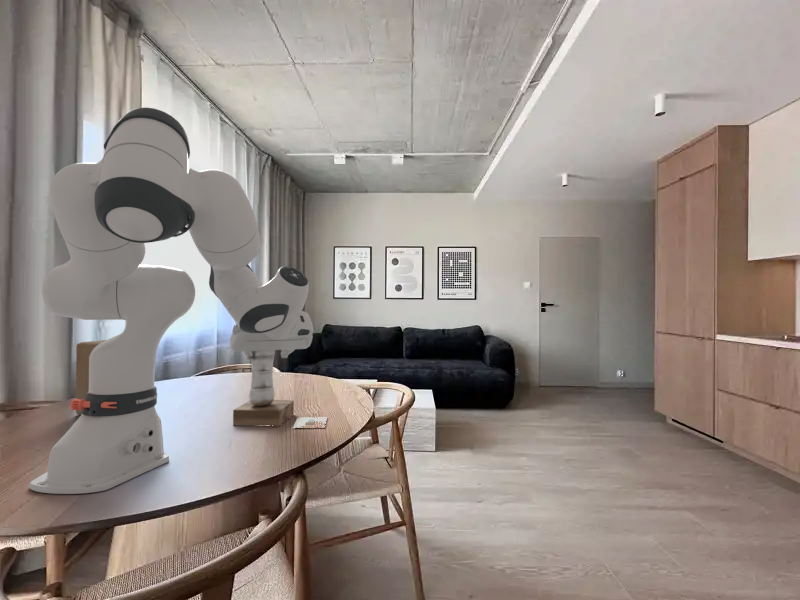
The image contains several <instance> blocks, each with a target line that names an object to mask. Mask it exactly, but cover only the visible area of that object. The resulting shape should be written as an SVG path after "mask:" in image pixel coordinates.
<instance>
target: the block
mask: <svg viewBox="0 0 800 600" xmlns="http://www.w3.org/2000/svg"><path fill="white" fill-rule="evenodd" d="M106 340H107V339H104V340H93V341H92V340H91V341H82V342H79V343H77V344H76V347H75V348H76V350H75V351H76V354H75V356H76V359H75V361H76V362H75V365H76V366H75V399H79V400H82V399H85V396H86V393H87V392H88V391H89V357H90V354H91V352H92V350H93V349H94V348H95V347H96V346H97V345H99V344H100V343H102V342H104V341H106ZM75 414H77V416H81V415H82V413H81V410H75Z"/></svg>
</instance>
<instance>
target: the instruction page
mask: <svg viewBox="0 0 800 600" xmlns="http://www.w3.org/2000/svg"><path fill="white" fill-rule="evenodd" d="M312 417H313V418H312ZM312 417H311V416H305V417H299V416H298V417H296V420H295V422H294V424H293V427H292V429H293V428H296V427H297V428H300V427H301V426H306V425H307V426H308V425H315V422H316V421H318V423H319V422H320V421H321V422H323V424H324V423H325V424H326V425H327V422H326V421H327V420H328V417H327V416H312ZM314 417H315V418H314ZM317 417H318V419H317ZM312 421H313V422H312ZM314 421H315V422H314ZM321 422H320V423H321ZM320 425H321V424H320ZM326 425H325V426H326ZM323 426H324V425H323ZM323 426H322V427H323ZM325 426H324V427H325ZM301 428H302V427H301ZM325 428H326V427H325Z"/></svg>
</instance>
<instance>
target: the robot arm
mask: <svg viewBox="0 0 800 600" xmlns="http://www.w3.org/2000/svg"><path fill="white" fill-rule="evenodd" d="M190 148H191V147H190V142H189V138H188V134H187V133H186V131H185V129H184V127H183V126H182V125H181V123H180V122H179V121H178V120H177V119H176V118H175V117H174V116H172V115H170V114H169V113H167V112H166V111H163V110H161V109H157V108H154V107H137V108H134V109H131V110H130V111H128V112H126V113H125V114H124V115H123V116H122V117H121V118H120V119H119V120H118V121H117V122H116V124H115V125H114V127H112V129H111V132H110V133H109V136H108V137H107V139H106V140H105V142H104V144H103V149H104V155H103V157H102V158H101V160H99V161H97V162H77V163H76V162H75V163H71V164H69V165H66V166H63V167H62V168H61V169H60V170H58V171H57V173H55V174H54V176H53V178H52V179H51V183H50V196H51V197H50V198H51V203H52V204H51V205H52V210H53V213H54V217H55V220H56V224H57V226H58V229H59V231H60V234H61V235H62V238H63V240H64V242H65V246H66V248H67V251H68V254H69V257H70V258H69V260H68V261H67V262H65V263H63V264H61V265H57V266H55V267H53V269H51V270H50V272H48V274H47V275H46V276H45V277H44V278H45V279H44V281H43V282H42V287H41V294H42V295H41V296H42V299H43V302H44V304H45V305H46V307H47V308H48V309H49V310H50V312H51V313H53V314H54V315H56V316H57V317H59V316H60V317H66V318H71V319H76V320H85V321H87V320H89V321H90V320H91V321H95V320H99V321H100V320H101V321H102V320H105V321H107V320H108V321H109V320H111V321H112V320H116V321H117V320H118V321H119V320H122V321H125V328H124V330H123V331H122V332H121V333H119V334H117V335H115V336H113V337H112V336H111V338H108V339H105V340H106V341H104V342H102V343H100V344H99V345H97V346H96V347H95V348H94V349H93V350H92V352H91V354H90V357H89V391H88V392H87V393H86V396H85V399H82V400H79V399H76V398H73V399H72V400H71V402H69V409H70V410H71V411H76V410H81V413H82V415H79V417H78V419H76V421H75V422H74V423H73V424H72V426H70V427H69V429H68V430H67V431H66V433H64V434H63V436H62V437H60V439H59V440H58V441H57V442H56V443H55V445H53V447H52V448H51V450H50V452H49V457H48V463H47V471H46V472H44V473H43V474H41V475H39V476H38V477H36V478H34V479H33V480H31V481H30V482H29V486H28V488H29V489H30V490H31V491H33V492H37V493H44V494H45V493H46V494H55V495H57V494H58V495H76V494H80V495H81V494H90V493H98V492H104V491H107V490H110V489H112V488H115V487H116V486H119V485H121V484H123V483H124V482H127V481H129V480H132V479H133V478H135V477H138V476H141V475H143V474H145V473H147V472H148V471H152V470H153V469H155V468H157V467H160V466H161V465H164V464H166V463H168V462H170V457H169V454H167V453H165V450H164V449H165V448H164V436H163V426H162V420H161V417H160V416H159V414H158V413H157V410H156V407H155V406H156V405H157V404H158V402H157V401H158V400H157V399H158V391H157V390H158V389H157V387H156V386H155V375H156V374H155V370H156V362H157V361H156V359H157V352H158V347H159V344H160V342H161V340H162V338H163V337H164V335H165V333H166V331H168V329H169V328H170V327H171V326H172V325H173V324H174V323H175V322H176V321H178V320H179V319H180V318H181V317H183V316H184V315H185V314H187V313H188V311H190V309H191V308H192V306H193V304H194V302H195V298H196V289H195V288H196V287H195V285H194V284H195V283H194V281H193V280H192V278H191V276H190V275H189V274H188V273H187V272H186V271H185V270H183V269H179V268H175V267H171V266H165V265H160V264H159V265H158V264H157V265H156V264H153V265H151V264H142V262H143V261H144V258H145V257H146V256H145V254H146V245H145V244H148V243H155V242H160V241H161V242H162V241H165V240H169V239H170V238H177V237H180V236H181V235H184V234H185V233H186V232H189V234H190V236H191V239H192V241H193V242H194V245H195V248H197V251H198V252H199V254H200V255H201V257H202V258H203V259H204V260H205V261H206V262H207V263H208V265H209V266H210V273H209V274H210V275H209V279H208V280H209V281H208V284H209V288H210V291H211V292H212V293H213V294H214V295H215V297H217V299H218V300H219V301H220V303H221V304H222V305H223V307H224V308H225V310H226V311H227V312H228V314H229V315H230V317H231V318H232V319H233V321H234V322H235V324H234V325H233V327H232V333H231V335H230V338H229V345H230V349H231V350H232V351H233V352H234V353H236V352H239V353H240V352H243V353H244V357H245V360H246V361H249V360H251V359H252V357H253V354H252V351H264V350H275V351H281V352H280V357H281V359H287V358H289V357H288V356H289V355H290V354H292V353H293V352H294V351H295V350H304V349H305V350H306V349H308V348H309V347H311V344H312V342H313V337H314V336H313V333H314V325H313V322H312V319H311V316H310V315H309V313H308V312H306V311H303V309H304V307H305V304H306V301H307V298H308V294H309V289H310V283H309V282H310V281H309V279H308V278H307V276H306V275H304V273H303V272H302V271H301V270H300V269H297V268H295V267H292V266H281V267H280V268H278V270H277V271H276V273H275V275H274V277H273V278H272V279H270V280H269V281H268V282H267V283H265V284H263V283H262V281H260V279H259V278H258V277H257V275H256V274H255V273H254V271H253V269H252V268H251V267H250V265H249V264H251V262H252V261H254V259H255V258H256V257H257V256H258V254H259V252H260V249H261V235H260V230H259V226H258V223H257V219H256V216H255V213H254V209H253V208H252V207H253V206H252V205H251V202H250V200H249V198H248V195H247V194H246V192H245V190H244V189H243V187H242V185H241V184H240V182H239V181H238V180H237V179H236V178H235V176H233V175H232V174H230V173H229V172H226V171H224V170H220V169H205V170H200V171H197V170H195V169H192V168H191V167H189V159H190V156H191V149H190Z"/></svg>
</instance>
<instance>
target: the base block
mask: <svg viewBox="0 0 800 600" xmlns="http://www.w3.org/2000/svg"><path fill="white" fill-rule="evenodd" d="M294 406H295V401H294V400H290V399H287V400H285V399H284V400H283V399H274V400H273V402H272V403H271V404H269V405H265V406H255V405H252V404H251V403H250V400H249V401H246V402H245V403H243V404H242V405H239V406H238V407H236V408H235V409H232V411H233V412H232V413H233V414H232V426H233V425H270V426H272V425H273V426H280V425H281V424H282V423H283V422H285V421H286V420H287V419H288V418H289V417H290V418H292V417H293V416H294V415H293V414H294V412H295V411H294V410H295V409H294V408H295V407H294ZM292 415H293V416H292ZM291 416H292V417H291ZM290 418H289V419H290ZM289 419H288V420H289ZM288 420H287V421H288ZM287 421H286V422H287ZM286 422H285V423H286ZM283 424H284V423H283ZM283 424H282V425H283ZM282 425H281V426H282ZM281 426H280V427H281Z"/></svg>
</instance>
